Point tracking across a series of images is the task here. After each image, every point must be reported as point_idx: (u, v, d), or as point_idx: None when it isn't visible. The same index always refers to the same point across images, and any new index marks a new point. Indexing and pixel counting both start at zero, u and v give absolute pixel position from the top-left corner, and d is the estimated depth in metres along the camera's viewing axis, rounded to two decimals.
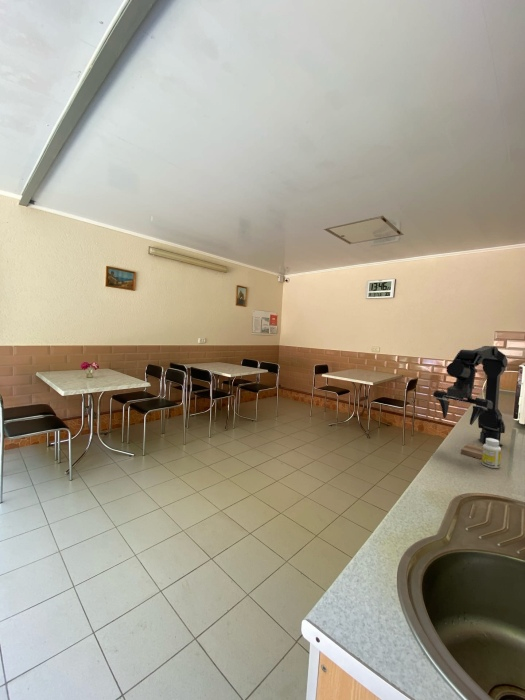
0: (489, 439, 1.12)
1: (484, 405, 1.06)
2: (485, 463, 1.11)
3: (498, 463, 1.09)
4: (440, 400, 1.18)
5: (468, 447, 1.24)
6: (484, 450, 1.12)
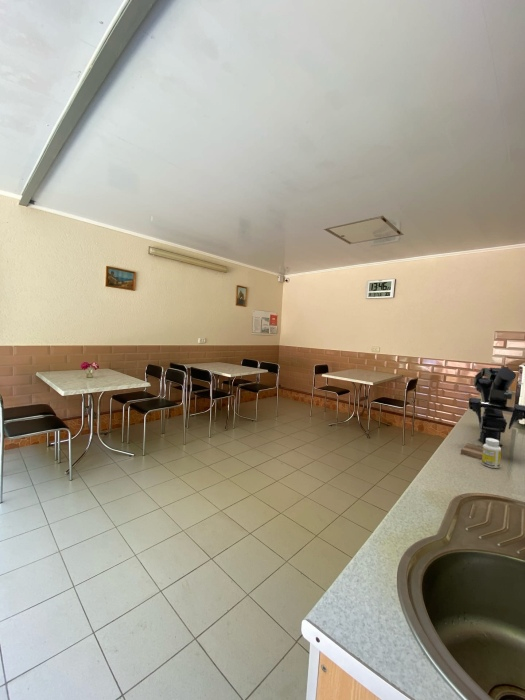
0: (489, 439, 1.12)
1: None
2: (485, 463, 1.11)
3: (498, 463, 1.09)
4: (477, 405, 1.23)
5: (468, 447, 1.24)
6: (484, 450, 1.12)
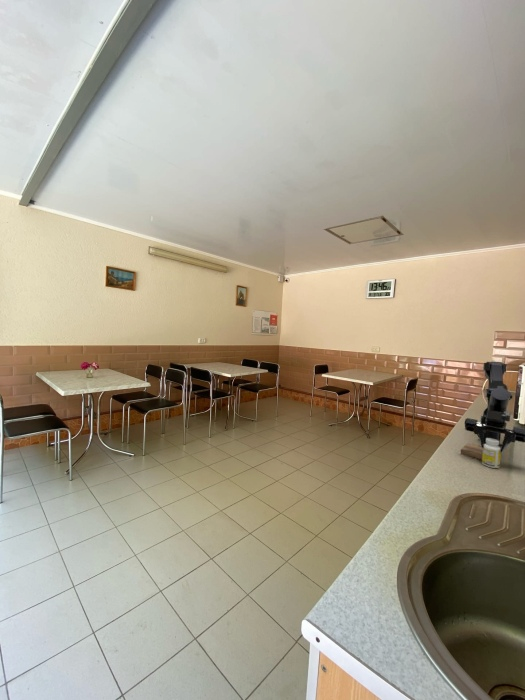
0: (489, 439, 1.12)
1: (524, 432, 1.07)
2: (485, 463, 1.11)
3: (498, 463, 1.09)
4: (479, 427, 1.15)
5: (468, 447, 1.24)
6: (484, 450, 1.12)
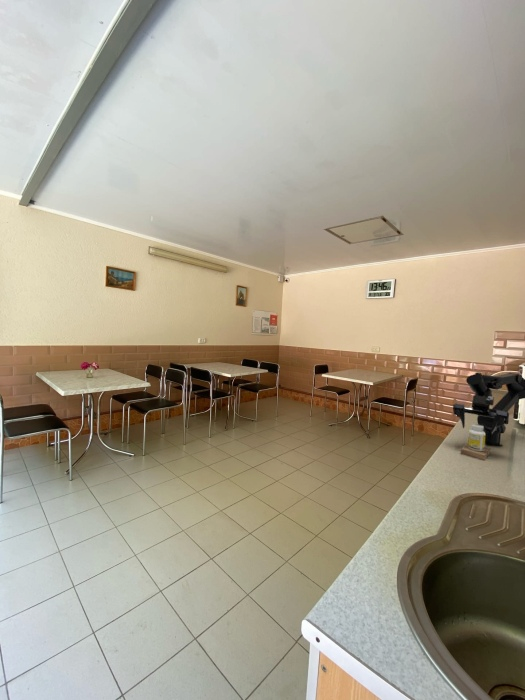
0: (474, 425, 1.22)
1: (506, 415, 1.17)
2: (471, 447, 1.21)
3: (483, 446, 1.20)
4: (461, 410, 1.26)
5: (468, 447, 1.24)
6: (470, 435, 1.22)
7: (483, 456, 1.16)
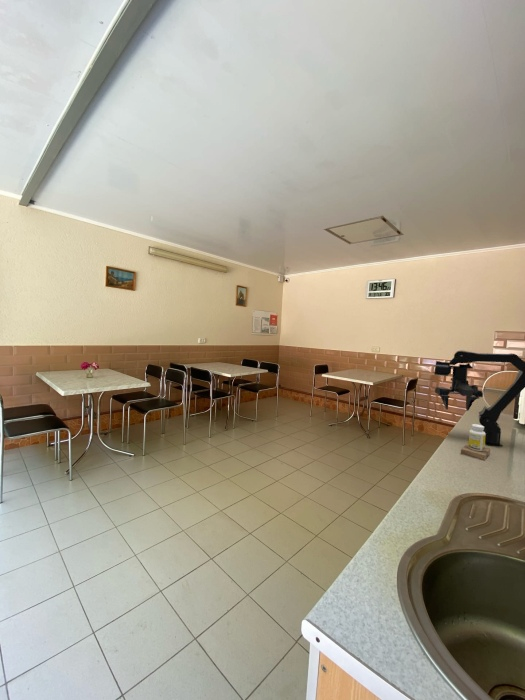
0: (475, 425, 1.22)
1: (482, 396, 1.36)
2: (471, 447, 1.21)
3: (483, 446, 1.19)
4: (446, 397, 1.39)
5: (468, 447, 1.24)
6: (470, 435, 1.22)
7: (483, 456, 1.16)
